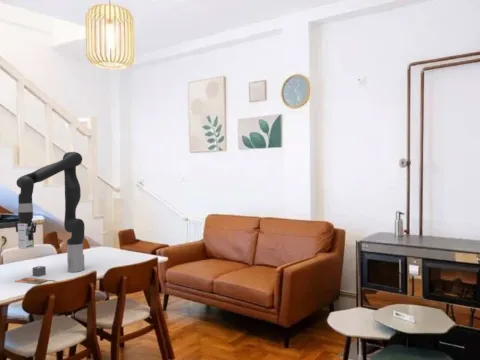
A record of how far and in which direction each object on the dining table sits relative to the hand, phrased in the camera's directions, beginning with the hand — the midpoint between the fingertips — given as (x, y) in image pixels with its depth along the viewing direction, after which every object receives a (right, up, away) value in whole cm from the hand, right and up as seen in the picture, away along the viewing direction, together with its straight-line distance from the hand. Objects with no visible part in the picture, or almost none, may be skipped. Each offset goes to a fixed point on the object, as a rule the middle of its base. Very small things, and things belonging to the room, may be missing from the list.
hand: (26, 239), depth 227 cm
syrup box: (0, -5, 0) cm, 5 cm away
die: (+2, -23, +12) cm, 26 cm away
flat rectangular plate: (+8, -24, -2) cm, 25 cm away
